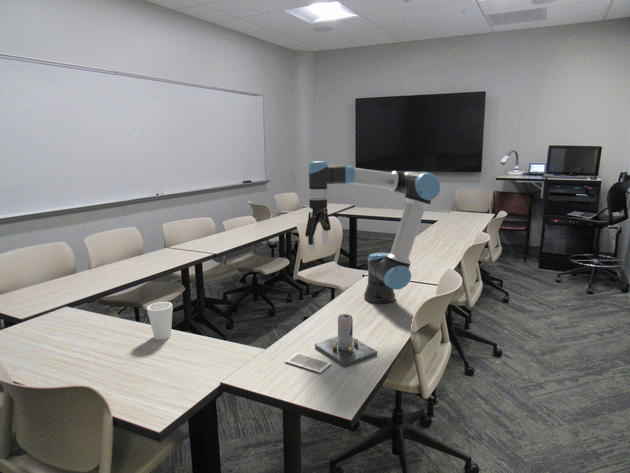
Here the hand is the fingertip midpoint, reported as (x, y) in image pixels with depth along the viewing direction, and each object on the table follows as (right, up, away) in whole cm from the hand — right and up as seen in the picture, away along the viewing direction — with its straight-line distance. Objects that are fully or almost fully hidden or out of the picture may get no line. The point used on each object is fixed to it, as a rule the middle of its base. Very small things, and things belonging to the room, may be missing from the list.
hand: (318, 248), depth 178 cm
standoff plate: (+10, -37, -24) cm, 45 cm away
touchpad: (-4, -40, -32) cm, 51 cm away
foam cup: (-63, -35, -10) cm, 73 cm away
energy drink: (+10, -36, -24) cm, 44 cm away
